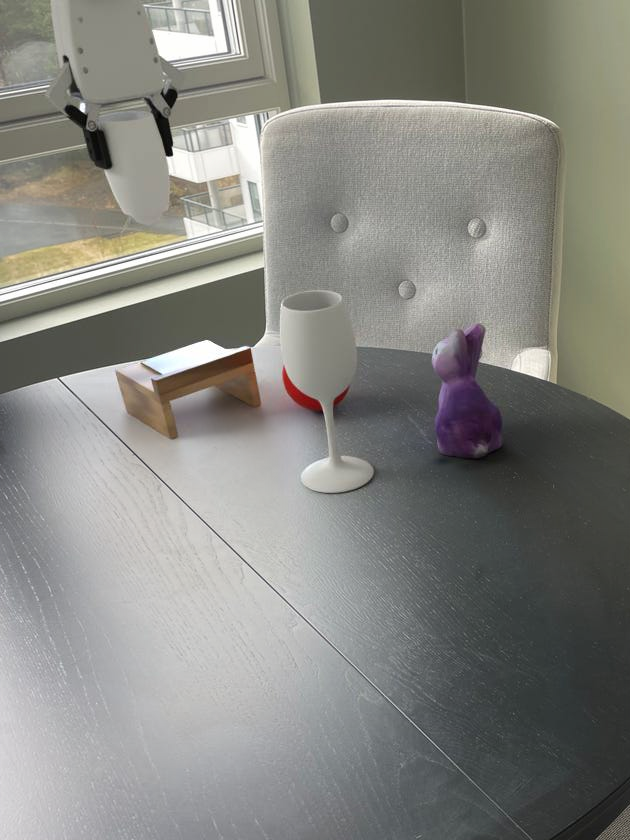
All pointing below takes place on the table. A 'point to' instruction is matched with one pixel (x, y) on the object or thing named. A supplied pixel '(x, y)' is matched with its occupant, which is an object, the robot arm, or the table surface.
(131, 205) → the cup
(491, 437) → the figurine
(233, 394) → the stand
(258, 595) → the table surface
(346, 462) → the wineglass
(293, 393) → the ornament
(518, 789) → the table surface
